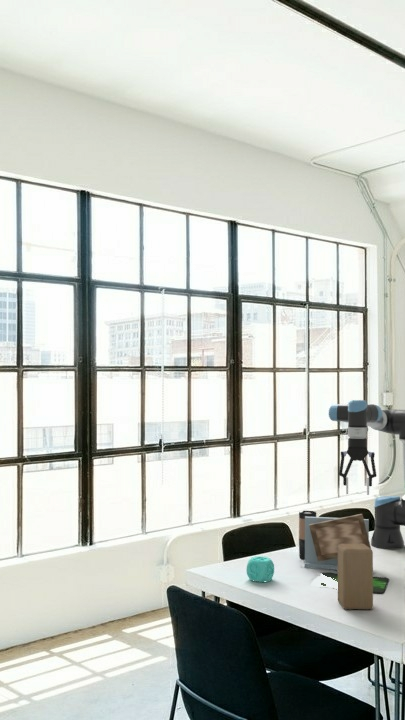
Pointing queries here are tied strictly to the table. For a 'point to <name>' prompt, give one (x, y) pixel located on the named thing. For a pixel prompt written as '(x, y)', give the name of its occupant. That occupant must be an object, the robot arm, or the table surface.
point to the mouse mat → (378, 582)
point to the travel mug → (303, 531)
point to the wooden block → (355, 576)
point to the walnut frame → (337, 535)
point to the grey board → (310, 550)
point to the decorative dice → (260, 569)
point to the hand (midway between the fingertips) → (357, 493)
